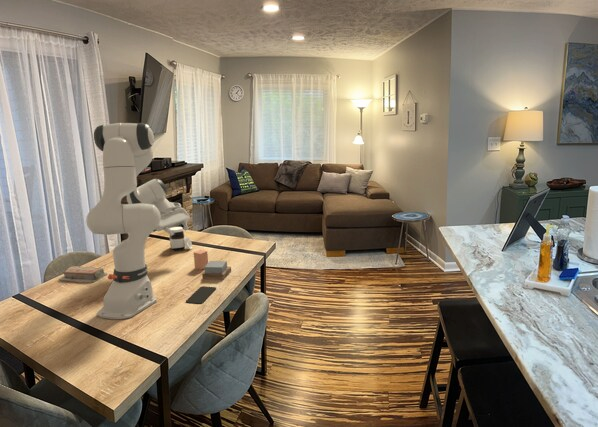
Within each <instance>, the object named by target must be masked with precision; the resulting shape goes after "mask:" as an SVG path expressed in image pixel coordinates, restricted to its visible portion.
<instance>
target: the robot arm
mask: <svg viewBox="0 0 598 427" xmlns="http://www.w3.org/2000/svg"><path fill="white" fill-rule="evenodd" d="M93 140H94V144H95V146H96V148H97V149H99V150H100V151H101V152H102V166H103V180H104V181H103V183H104V186H103V192H102V196H101V198H100V200H98V202H97V204H96V205H94V207H92V208H91V209H90V210H89V212H88V213H87V216H86V226H87V228H88V229H89V231H90V233H92V234H94V235H104V236H109V235H111V236H112V235H123V234H128V237H127V238H126V239H124V240H122V241H121V242H119V243H118V244H117V245H116V246H115V247H114V248H113V250H112V256H113V264H114V269H113V272H112V273H113V274H112V273H110V274H107V278H108V280H112V283H111V284H110V286H109V288H108V289H107V291H106V292H105V295H104V296H103V299H102V300H103V301H102V302H103V303H102V307H101V308H100V309H99V310H98V311H97V312H96V316H97V317H99V318H101V319H102V318H103V319H109V320H124V319H130V318H132V317H134V316H136V315H137V314H138V313H141V312H143V310H146V309H147V308H148V307H150V306H152V305H154V304H155V303H156V302H157V301H158V299H157V297H156V296H154V290H153V286H152V281H151V280H150V278H149V276H148V273H149V272H148V265H147V264H146V257H145V248H146V247H145V246H146V242H147V240H148V238H149V236H150V234H152V232H153V231H157V232H161V231H164V232H165V233H167V234H168V235H169V237H170V236H172V235H174V231H171V230H170V228H173V227H178V226H179V225H182V226H183V230H184V231H185V232H186V231H188V230H189V226H188V222H189V220H191V216H190V214H189V213H188V212H187V210H186V209H185V208H183V207H182V204H181V203H179V202H173V201H172V202H171V201H169V200H168V199H167V198H166V196H167V193H168V187H167V186H166V184H165V183H164V182H163V181H162V180H161V179H159V178H153V179H151V180H149V181H146V182H145V183H144V184H141V185H140V186H138V179H137V177H138V176H139V174H140V173H141V172H142V171H143V170H145V169H146V168H148V166H150V164H151V163H152V160H153V157H154V152H153V149H152V146H153V145H154V140H155V136H154V132H153V129H152V127H151V126H150V125H149V124H147V123H144V122H138V123H134V122H133V123H132V122H116V123H109V124H106V123H105V124H101V125H98V126H96V128H95V129H94V130H93ZM137 186H138V187H137ZM124 197H126V201H127V204H125V203H122V199H123V198H124Z"/></svg>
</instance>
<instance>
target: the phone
mask: <svg viewBox="0 0 598 427" xmlns="http://www.w3.org/2000/svg"><path fill="white" fill-rule="evenodd" d="M215 291H217V287H216V286H204V285H203V286H200V287H198V289H197V290H196V291H194V292H193V293H192V294H191V295H190V296H189V297H188V298H187V299H186V300H185V303H187V304H193V305H202V304H204V303H205V302H206V301H207V300H208V298H210V296H212V295H213V293H215Z"/></svg>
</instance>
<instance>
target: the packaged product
mask: <svg viewBox="0 0 598 427" xmlns="http://www.w3.org/2000/svg"><path fill="white" fill-rule="evenodd" d="M107 276H108V272H105V271H104V268H102V267H92V266H91V267H90V266H78V265H77V266H75V265H74V266H70V267H68V268H67V269H66V270H64V272H63V276H61V277H60V278H58V280H59V281H68V282H77V283H91V284H94V283H96V282H97V281H99V280H101V279H102V278H104V277H107Z"/></svg>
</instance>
